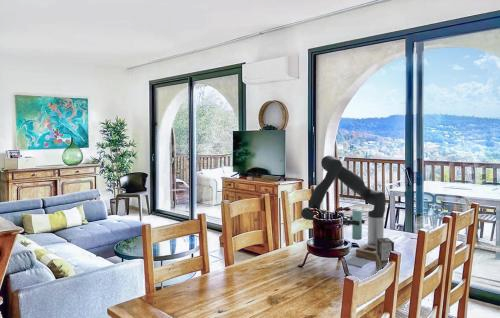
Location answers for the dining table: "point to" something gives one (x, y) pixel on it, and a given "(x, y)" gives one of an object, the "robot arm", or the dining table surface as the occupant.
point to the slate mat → (357, 262)
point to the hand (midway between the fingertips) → (361, 222)
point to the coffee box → (383, 252)
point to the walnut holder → (366, 253)
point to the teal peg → (356, 229)
